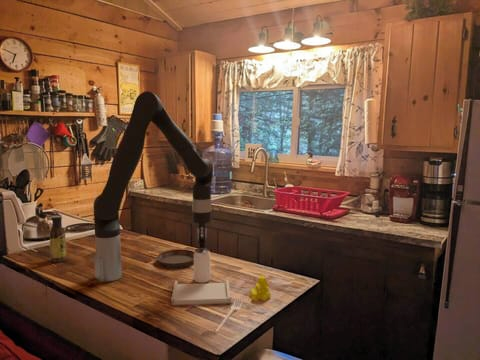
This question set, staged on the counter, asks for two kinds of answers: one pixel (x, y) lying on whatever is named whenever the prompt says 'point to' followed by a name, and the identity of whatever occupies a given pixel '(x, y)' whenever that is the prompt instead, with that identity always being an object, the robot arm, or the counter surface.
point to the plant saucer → (176, 258)
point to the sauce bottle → (57, 240)
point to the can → (202, 265)
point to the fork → (231, 312)
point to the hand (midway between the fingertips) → (202, 252)
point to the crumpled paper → (261, 289)
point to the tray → (201, 294)
